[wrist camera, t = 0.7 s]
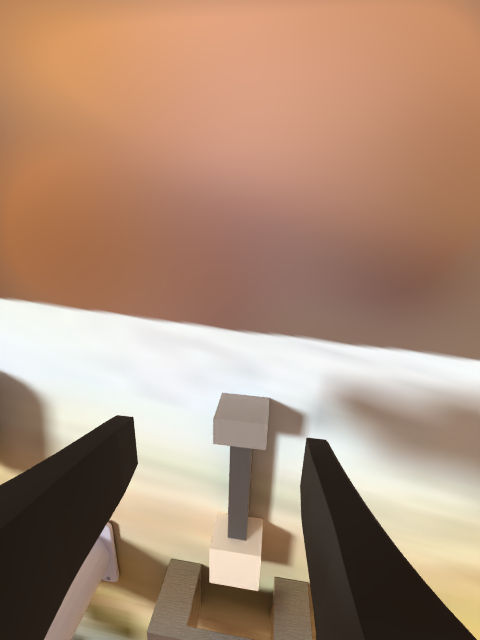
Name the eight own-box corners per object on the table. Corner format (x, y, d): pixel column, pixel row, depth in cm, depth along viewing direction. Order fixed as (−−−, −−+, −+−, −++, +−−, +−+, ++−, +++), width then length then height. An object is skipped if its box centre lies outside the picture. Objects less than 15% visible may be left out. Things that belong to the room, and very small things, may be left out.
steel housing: (173, 598, 30) (151, 674, 25) (170, 558, 28) (146, 632, 23) (300, 623, 28) (305, 709, 23) (307, 582, 26) (314, 666, 21)
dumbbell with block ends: (216, 544, 26) (209, 582, 23) (218, 392, 21) (209, 417, 18) (260, 551, 26) (258, 591, 23) (273, 398, 21) (272, 425, 18)
